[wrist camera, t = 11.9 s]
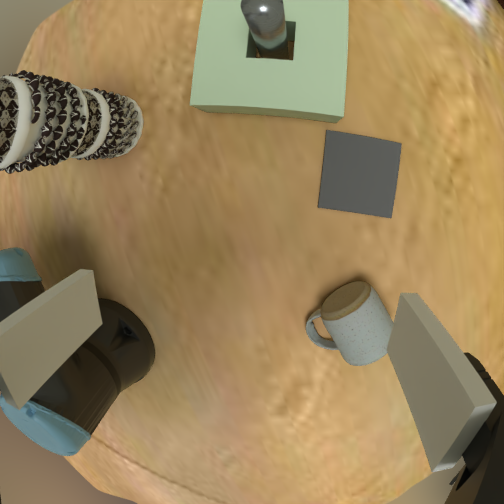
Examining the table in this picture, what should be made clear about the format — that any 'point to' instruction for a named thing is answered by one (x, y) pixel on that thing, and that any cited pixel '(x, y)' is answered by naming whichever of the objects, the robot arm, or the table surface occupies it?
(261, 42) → the pin
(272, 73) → the socket block
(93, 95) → the decorative candle
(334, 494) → the table surface
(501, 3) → the ice cream bowl
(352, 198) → the mat
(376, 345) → the ceramic mug
